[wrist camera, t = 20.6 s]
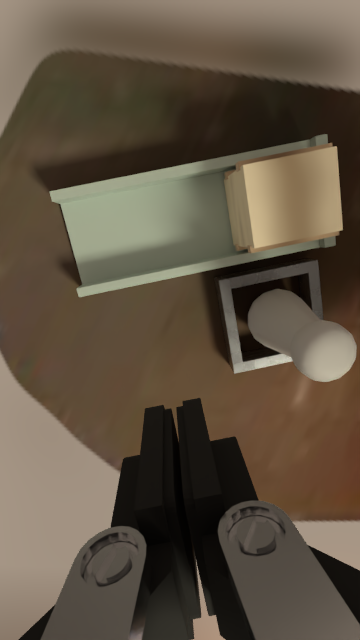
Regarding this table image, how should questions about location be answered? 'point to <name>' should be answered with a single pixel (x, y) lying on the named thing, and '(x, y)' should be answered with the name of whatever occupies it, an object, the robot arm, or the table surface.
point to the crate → (284, 198)
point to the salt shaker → (301, 335)
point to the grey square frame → (225, 283)
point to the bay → (160, 223)
